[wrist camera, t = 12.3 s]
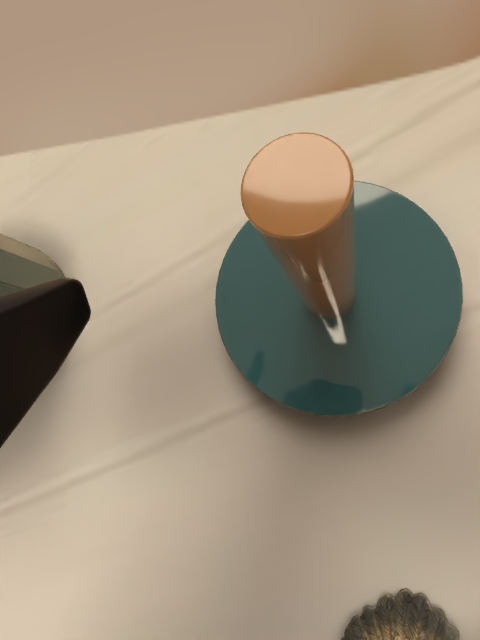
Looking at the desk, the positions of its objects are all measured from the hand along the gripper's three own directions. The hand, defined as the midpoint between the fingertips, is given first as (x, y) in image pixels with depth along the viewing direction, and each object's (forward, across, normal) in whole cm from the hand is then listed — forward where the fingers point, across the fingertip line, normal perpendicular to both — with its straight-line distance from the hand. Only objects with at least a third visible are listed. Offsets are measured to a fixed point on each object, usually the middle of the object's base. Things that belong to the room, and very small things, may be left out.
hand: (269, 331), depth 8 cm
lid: (+9, 0, +5) cm, 10 cm away
